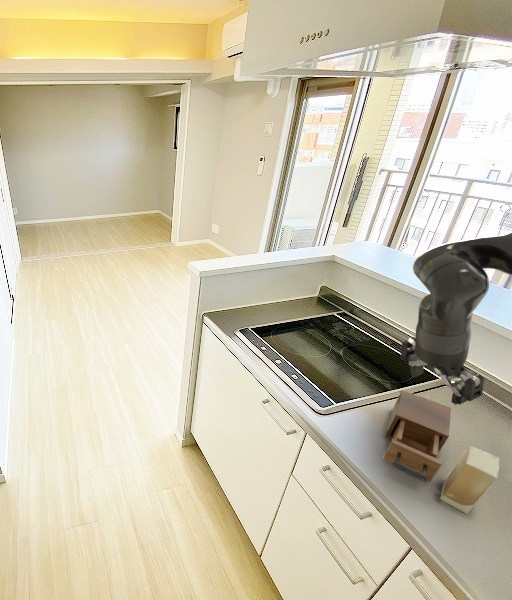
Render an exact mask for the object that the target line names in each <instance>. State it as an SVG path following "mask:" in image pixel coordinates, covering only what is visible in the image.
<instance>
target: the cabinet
mask: <svg viewBox="0 0 512 600" xmlns="http://www.w3.org/2000/svg"><path fill="white" fill-rule="evenodd" d="M451 415H452V407H451V406H448V405H445V404H443V403H439V402H438V401H437V402H436V401H435V400H432V399H428V398H426V397H423V396H421V395H418V394H415V393H412V392H410V391H407V390H404V389H401V390H400V394H399V395H398V397H397V399H396V401H395V403H394V405H393V407H392V409H391V412H390V416H389V419H388V423H387V427H386V431H385V437H387V438H389V439H391V440H392V438H393V434H394V431H395V429H396V427H397V426H398V424H399V422H400V420H404V421H406V422H409V423H411V424H413V425H416V426H418V427H421V428H423V429H426V430H428V431H430V432H433V433H435V434H438V435H439V445H438V454H439V453H440V452H441V450H442V448H443V447H444V445H445V444H446V442H447V440H448V439H449V437H450V429H451Z"/></svg>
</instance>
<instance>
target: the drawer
mask: <svg viewBox="0 0 512 600" xmlns="http://www.w3.org/2000/svg"><path fill="white" fill-rule="evenodd" d="M438 445H439V435H438V434H435V433H433V432H430V431H428V430H426V429H423V428H421V427H418V426H416V425H413V424H411V423H409V422H406V421H404V420H400V422H399V424H398V426H397V427H396V429H395V431H394V434H393V438H392V439H391V441H390V443H389V444H388V447H387V449H386V450H385V452H384V454H383V458H382V459H383V460H384V461H387V462H389V463H390V464H392V466H394V467H396V468H399V469H401V470H402V471H404V472H406V473H409V474H410V475H413V476H415V477H416V478H419V479H421V480H422V481H425V482H427V481H428V482H431V481H432V480H433V478H434V476H435V475H436V474H437V472H438V471H439V469H440V468H441V466H442V463H443V461H442V460H440V459H439V458H437V457H438V455H439V453H438Z"/></svg>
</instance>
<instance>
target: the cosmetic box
mask: <svg viewBox="0 0 512 600" xmlns="http://www.w3.org/2000/svg"><path fill="white" fill-rule="evenodd" d="M500 463H501V459H500V458H499V457H498V456H496V455H493V454H491V453H489V452H486V451H484V450H482V449H480V448H478V447H475V446H473V445H470V446H469V447H468V448H467V450H466V451H465V452H464V454H463V455H462V457H461V458H460V459H459V460H458V462H457V463H456V465H455V467H454V468H453V469H452V470H451V472H450V473H449V474H448V476H447V477H446V479H445V480H444V482H443V485H442V489H441V493H440V495H439V499H440V500H441V501H443V502H445V503H446V504H448V505H450V506H451V507H453V508H455V509H457V510H459V511H461V512H463V513H464V514H466V515H467V514H469V513H470V511H471V510H472V509H473V508H474V506H476V504H477V503H478V502H479V500H480V499H482V497H483V496H484V495H485V493H486V492H487V491H488V490H489V489H490V488H491V487H492V485H493V484H494V483H495V482H496V481H497V480H498V477H499V469H500Z"/></svg>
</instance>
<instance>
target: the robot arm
mask: <svg viewBox="0 0 512 600" xmlns="http://www.w3.org/2000/svg"><path fill="white" fill-rule="evenodd" d="M485 269H488V270H489V269H490V270H496V271H499V272H501V273H504V274H506V275H509V276H512V231H508V232H506V233H503V234H499V235H490V236H482V237H481V236H480V237H477V238H471V239H470V238H469V239H464V240H457V241H451V242H447V243H444V244H440V245H437V246H434V247H431V248H429V249H428V250H426V251H424V252H422V253H421V254H420V255H419V256H418V257H417V258H416V259H415V260H414V262H413V264H412V271H413V273H414V275H415V277H416V278H417V279H418V280H419V281H420V282H421V283H422V285H423V286H424V287H425V288H426V290H427V291H428V292H429V293H427V294H426V295H424V296H423V297H422V298H421V300H420V302H419V304H418V305H419V306H418V314H417V323H416V328H415V336H411V337H409V338H407V339H406V340H403V341H402V342H401V349H400V358H402V359H403V360H407V361H408V365H409V372H410V373H411V376H412V377H414V378H417V377H419V376H421V375H422V374H423V373H424V367H425V368H426V369H427V370H428V371H431V372H432V373H434V374H435V375H436V376H438V377H440V379H441V380H442V382H443V383H444V385H445V386H446V387H449V388H450V389H451V391H452V395H451V403H452V404H453V405H455V406H457V405H463V404H464V403H466V402H472V401H474V400H476V399H478V398H480V397H482V396H483V393H484V392H483V391H484V383H485V377H484V376H482V375H481V374H478V373H477V374H475V375H473V374H471V373H469V372H468V371H467V369H466V367H465V363H466V362H467V359H468V355H469V349H470V343H471V338H472V328H471V327H472V320H473V315H474V311H475V310H476V309H477V308H478V307H479V305H480V303H481V302H482V301H483V299H484V298H485V297H486V296H487V294H488V292H489V289H490V280H489V275H488V273H487V272H486V270H485ZM451 378H452V379H451ZM458 385H460V386H461V387H460V388H459V387H458Z"/></svg>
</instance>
